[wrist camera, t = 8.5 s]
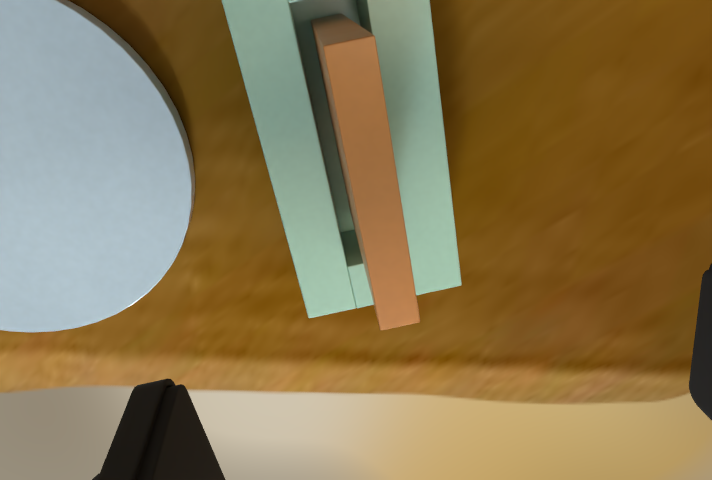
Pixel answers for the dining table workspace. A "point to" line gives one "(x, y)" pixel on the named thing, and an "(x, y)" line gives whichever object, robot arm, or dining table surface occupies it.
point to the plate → (83, 170)
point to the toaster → (318, 146)
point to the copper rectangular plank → (367, 164)
